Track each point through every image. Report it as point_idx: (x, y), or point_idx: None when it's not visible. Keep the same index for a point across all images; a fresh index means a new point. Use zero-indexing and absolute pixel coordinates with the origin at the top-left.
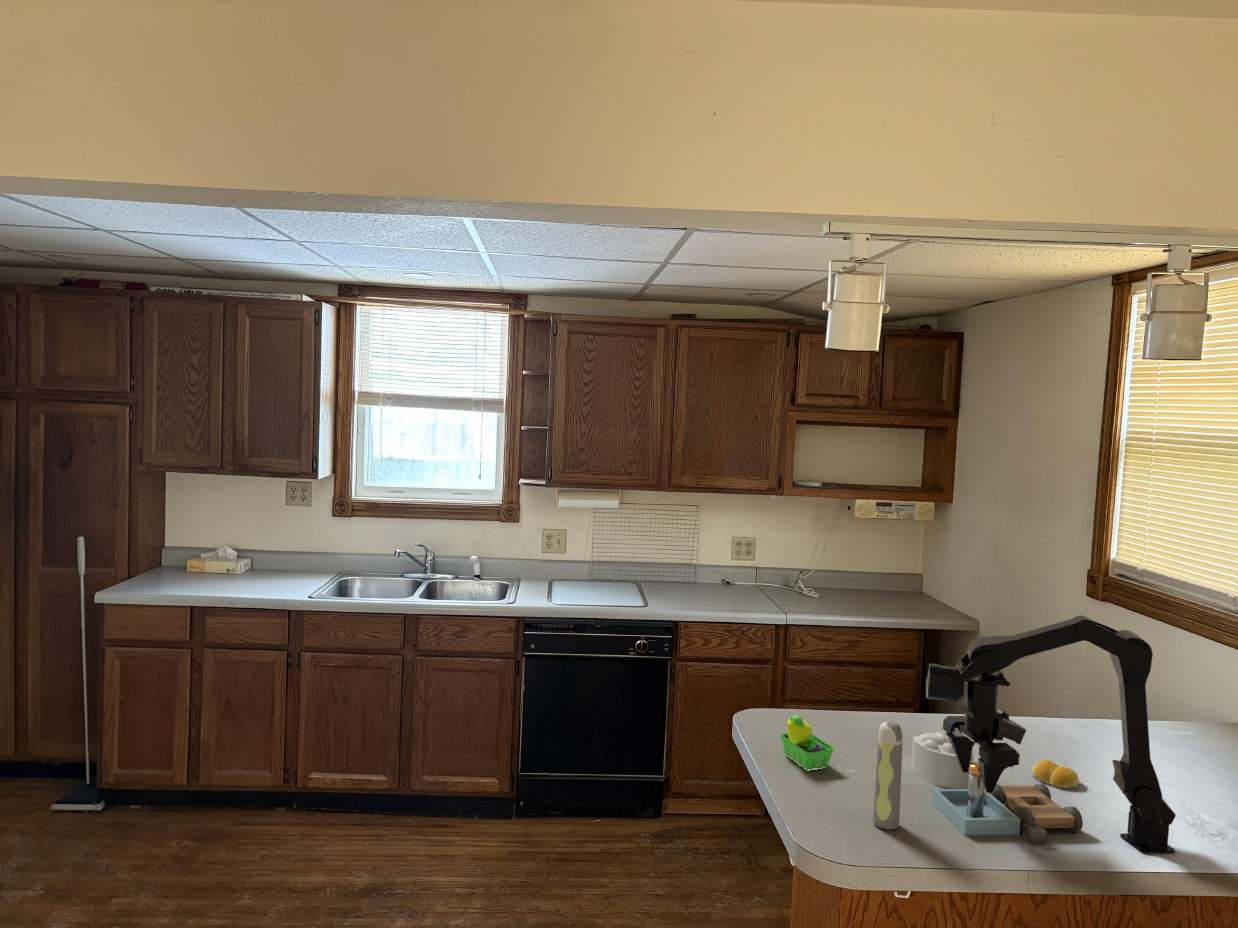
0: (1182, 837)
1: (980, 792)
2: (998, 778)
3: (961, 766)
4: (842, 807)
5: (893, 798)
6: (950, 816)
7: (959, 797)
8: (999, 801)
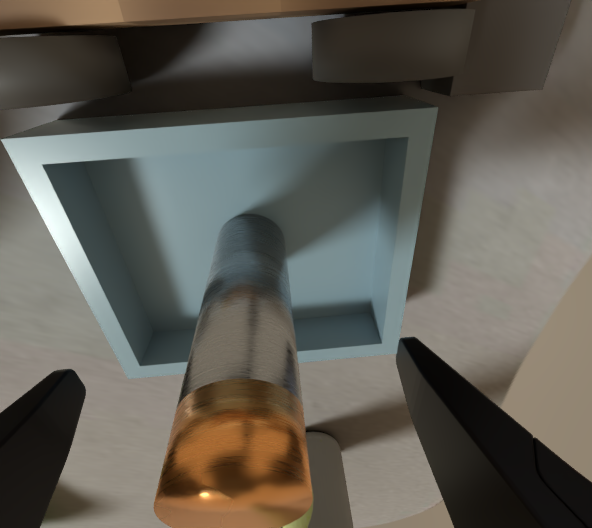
0: None
1: (293, 322)
2: (529, 436)
3: (72, 440)
4: None
5: None
6: None
7: (117, 271)
8: (126, 83)
